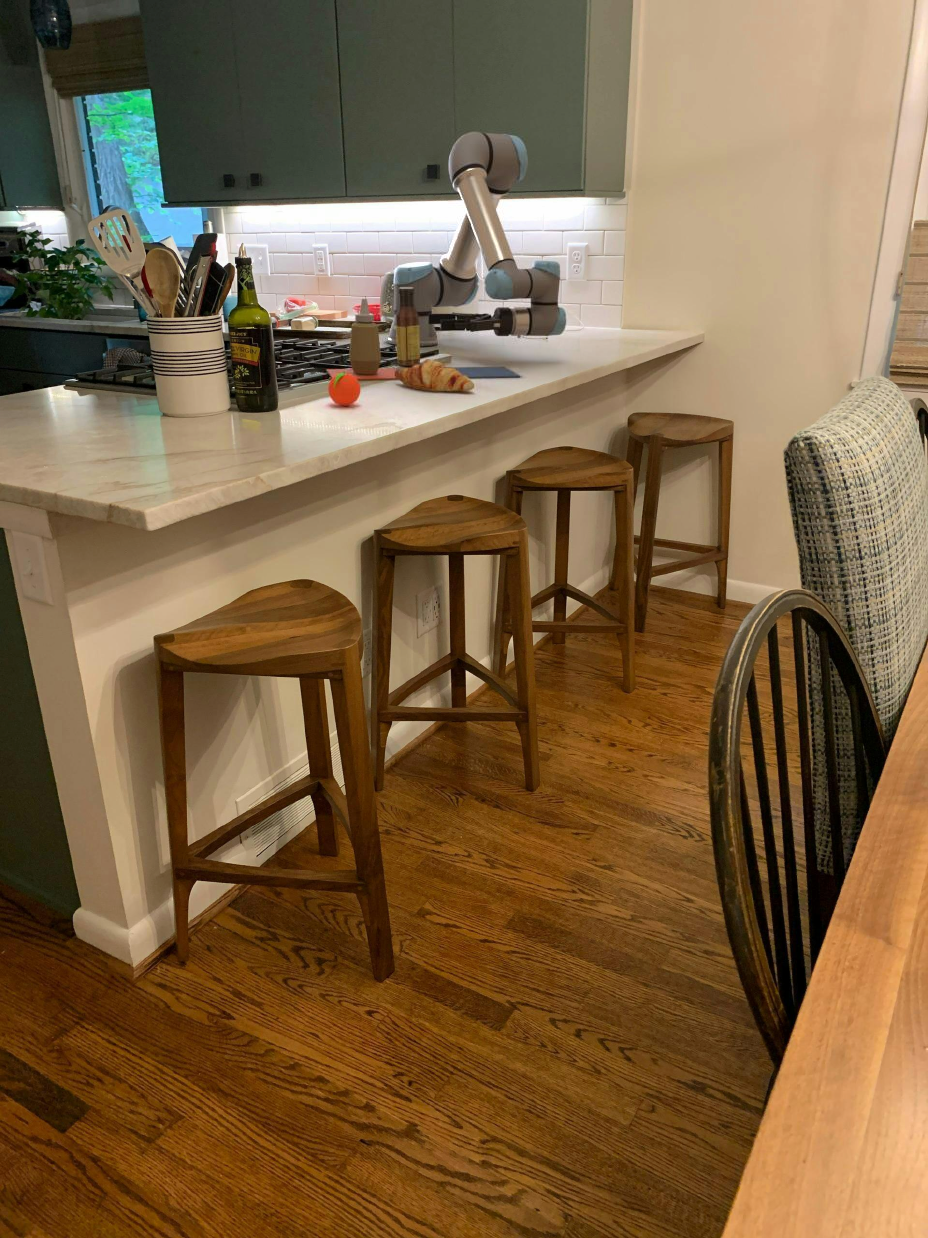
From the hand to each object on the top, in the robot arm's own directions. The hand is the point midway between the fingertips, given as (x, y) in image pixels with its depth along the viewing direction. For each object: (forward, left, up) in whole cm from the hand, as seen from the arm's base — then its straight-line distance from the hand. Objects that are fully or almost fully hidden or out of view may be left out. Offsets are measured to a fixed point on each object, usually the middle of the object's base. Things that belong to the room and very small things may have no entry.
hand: (434, 321), depth 249 cm
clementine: (+51, -32, -11) cm, 61 cm away
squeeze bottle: (+14, -21, -11) cm, 28 cm away
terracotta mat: (+14, -21, -11) cm, 28 cm away
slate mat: (+14, +9, -11) cm, 20 cm away
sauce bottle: (0, -7, -11) cm, 13 cm away
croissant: (+34, -8, -11) cm, 37 cm away
